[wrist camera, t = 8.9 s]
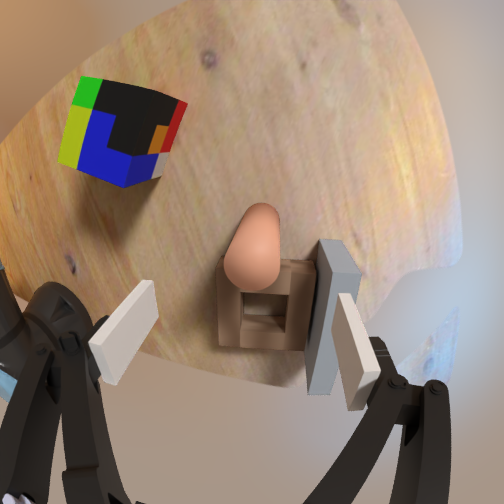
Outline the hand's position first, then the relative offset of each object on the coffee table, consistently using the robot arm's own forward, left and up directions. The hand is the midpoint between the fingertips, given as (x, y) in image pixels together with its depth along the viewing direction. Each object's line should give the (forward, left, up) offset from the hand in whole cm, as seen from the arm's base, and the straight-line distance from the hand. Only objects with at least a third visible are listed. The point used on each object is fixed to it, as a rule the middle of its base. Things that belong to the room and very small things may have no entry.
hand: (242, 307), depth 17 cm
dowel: (0, 0, -20) cm, 20 cm away
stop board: (+9, -11, -20) cm, 25 cm away
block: (+1, -11, -20) cm, 23 cm away
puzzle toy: (-16, +12, -20) cm, 29 cm away
